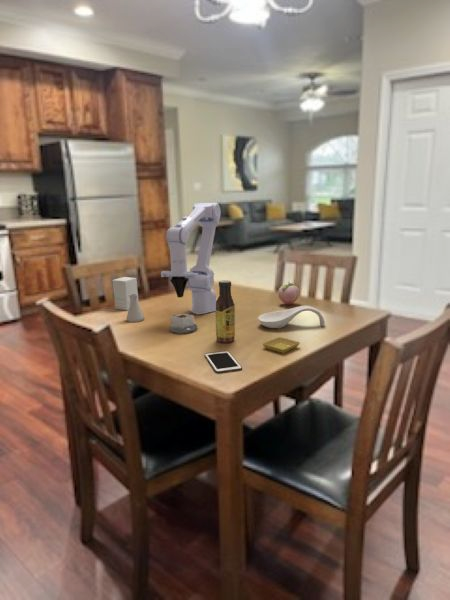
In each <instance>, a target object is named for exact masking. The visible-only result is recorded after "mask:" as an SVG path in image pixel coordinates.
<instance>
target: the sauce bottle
mask: <svg viewBox="0 0 450 600" xmlns="http://www.w3.org/2000/svg"><path fill="white" fill-rule="evenodd" d="M218 287H219V290H218V291H219V293H218V294H219V295H218V297H217V298H216V311H215V336H216V341H217V342H219V343H225V344H226V343H231V342H233V341H235V338H236V337H235V336H236V310H235V309H236V304H235V302H234V299H233V296H232V291H231V290H232V281H231V280H228V279H227V280H226V279H225V280H222V279H221V280H219V281H218Z"/></svg>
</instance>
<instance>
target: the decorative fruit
mask: <svg viewBox="0 0 450 600" xmlns="http://www.w3.org/2000/svg"><path fill="white" fill-rule="evenodd" d="M277 295H278V296H277V297H278V298H279V299H280V301H281V302H282V303H284V304H285V305H288V306H291V305H292V304H295V302H296V301H297V300H298V298H299V296H300V289H299V287H298V286H297V284H296V283H293V282H289V283H287V284H283V285H281V286H280V287H279V289H278V291H277Z"/></svg>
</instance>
